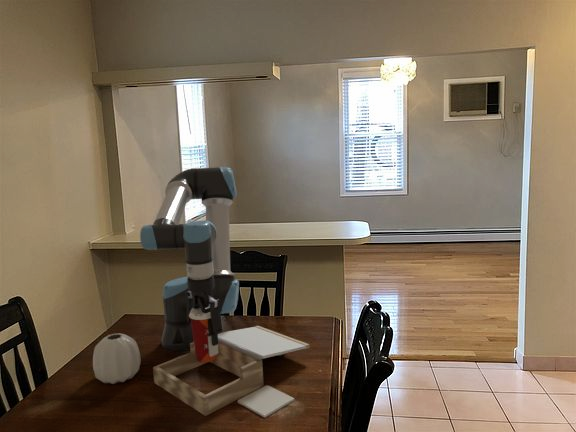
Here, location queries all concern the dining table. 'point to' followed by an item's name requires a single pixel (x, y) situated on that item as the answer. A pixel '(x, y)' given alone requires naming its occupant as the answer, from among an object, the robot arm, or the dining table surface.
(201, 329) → the coffee cup
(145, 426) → the dining table surface
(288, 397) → the stone tile
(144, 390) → the dining table surface
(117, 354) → the vase
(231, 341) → the lid
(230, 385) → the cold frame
